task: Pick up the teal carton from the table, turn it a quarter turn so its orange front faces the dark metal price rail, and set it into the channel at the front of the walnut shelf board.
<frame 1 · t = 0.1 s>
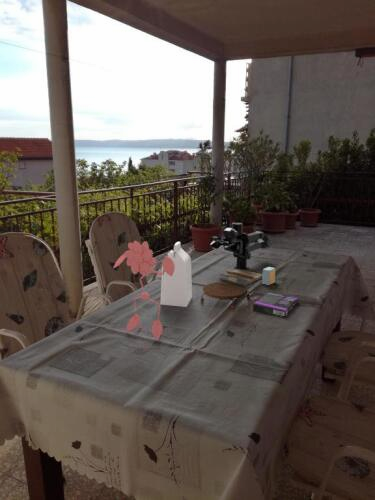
hand: (217, 247, 203), 17 cm above the table, tool horizontal, fingers open, 9 cm apart
carton: (268, 283, 199), on the table
box: (275, 307, 170), on the table
shelf: (242, 277, 208), on the table
figurine: (139, 338, 138), on the table
milk: (176, 301, 174), on the table
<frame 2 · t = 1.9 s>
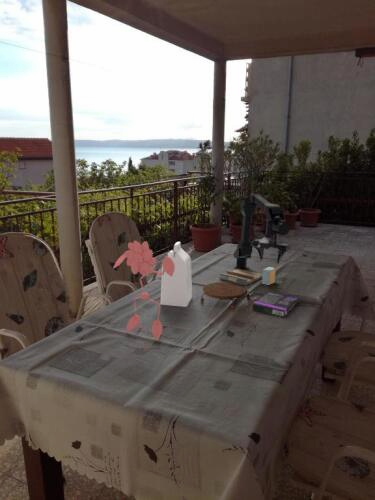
hand: (269, 261, 196), 11 cm above the table, tool pointing down, fingers open, 9 cm apart
nothing on the table moved.
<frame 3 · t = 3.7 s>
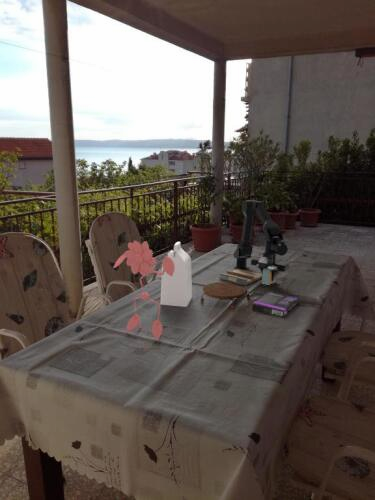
hand: (268, 280, 199), 2 cm above the table, tool pointing down, fingers closed on carton, 4 cm apart
carton: (268, 283, 199), on the table, touching gripper
everything else where it was.
when the fingers open (4 cm above the table, at t = 9.5 s): carton drops 1 cm, resting on shelf.
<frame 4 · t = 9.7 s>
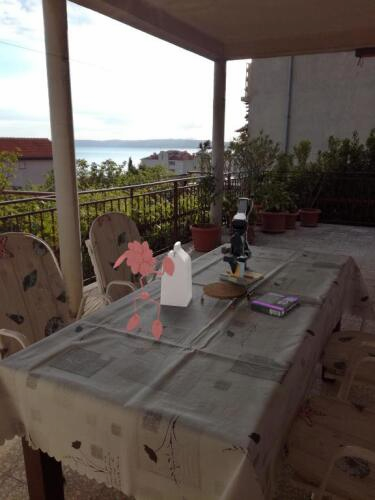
hand: (236, 272, 203), 4 cm above the table, tool pointing down, fingers open, 6 cm apart
carton: (236, 277, 203), point 1 cm above the table, touching shelf
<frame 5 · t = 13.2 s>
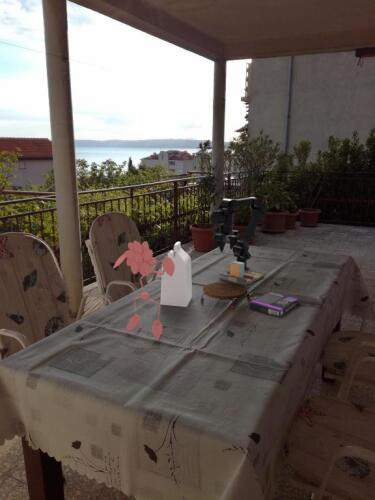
hand: (226, 250, 216), 12 cm above the table, tool pointing down, fingers open, 9 cm apart
at the end: carton inside the target area on the shelf (0.0 cm from its centre), point 1.5 cm above the shelf's base; carton tilted 0°; the gripper is holding nothing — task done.
